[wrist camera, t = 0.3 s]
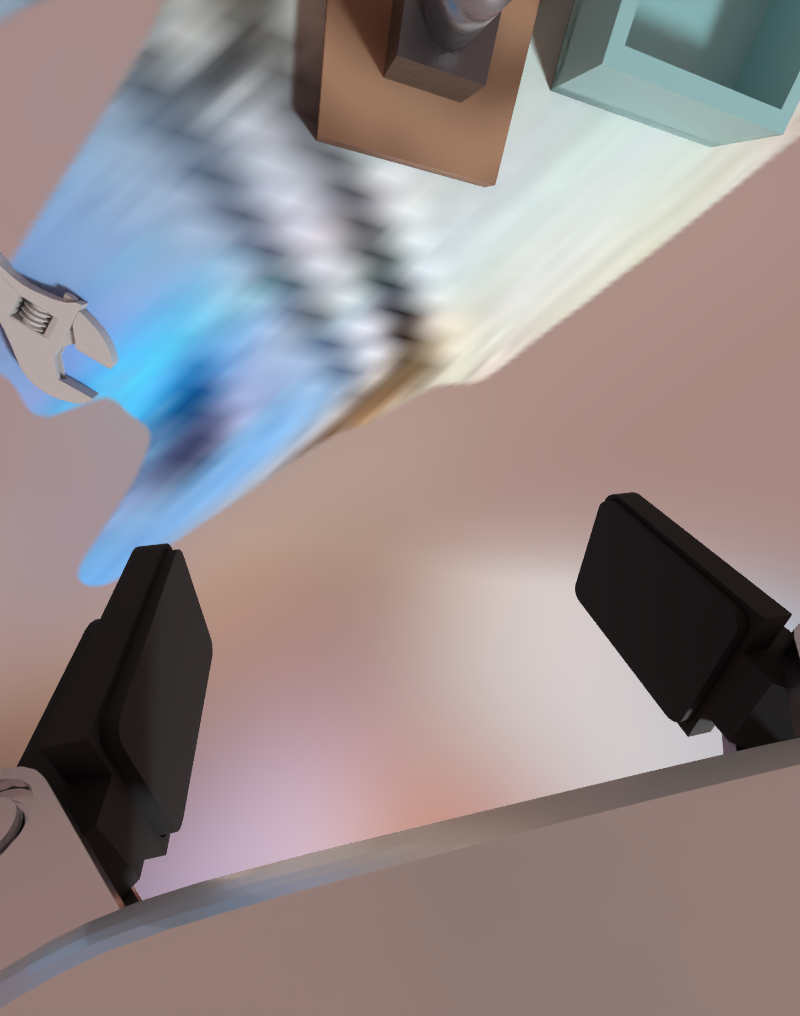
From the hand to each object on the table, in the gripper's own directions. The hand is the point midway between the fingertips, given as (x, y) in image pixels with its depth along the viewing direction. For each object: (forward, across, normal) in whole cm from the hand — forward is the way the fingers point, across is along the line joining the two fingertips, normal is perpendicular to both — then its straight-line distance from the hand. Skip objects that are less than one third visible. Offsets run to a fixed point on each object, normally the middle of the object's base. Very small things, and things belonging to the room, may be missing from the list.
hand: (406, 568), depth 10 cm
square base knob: (+28, -7, -16) cm, 33 cm away
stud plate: (+30, -7, -16) cm, 35 cm away
